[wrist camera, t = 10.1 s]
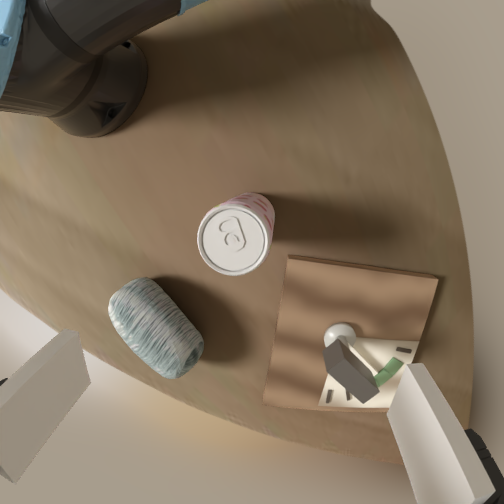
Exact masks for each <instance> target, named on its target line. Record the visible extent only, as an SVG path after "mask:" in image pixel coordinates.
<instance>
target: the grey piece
mask: <svg viewBox="0 0 504 504" xmlns="http://www.w3.org/2000/svg"><path fill="white" fill-rule="evenodd" d="M355 341H356V334H355V332H354V330H353V328H352V326H351V325H349V324H348V323H345V322H337V323H334V324H332V325H331V326H329V327H328V328H327V329H326V331H325V333H324V342H325V346H326V348H325V349H324V350H323V351H322V353H323V357H324V362H325V367H326V371H327V373H328V374H329V375H331V376H332V377H333V378H334V379H335V380H336V381H337V382H338V383H340V384H341V385H342V386H343V387H344V388H345V389H346V390H347V391H349V392H350V393H351V394H352V395H353V396H354V397H355V398H357V399H358V400H359V401H360V402H361V403H362V404H364V403H366V402H367V401H368V400H370V399H371V398H373V397H374V396H375V395H377V394H378V393H379V392H380V391H379V389H378V386H377V384H376V381H375V379H374V376H375V375H377V374H378V372H377V370H376V369H375V368H374V367H373V366H372V365H371V364H370V363H369V362H368V361H367V360H366V359H365V358H364V357H363V356H362V355H361V354H360V353H359V352H358V351H357V350H356V349H355V348H354V347H353V345H354V344H355Z"/></svg>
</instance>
